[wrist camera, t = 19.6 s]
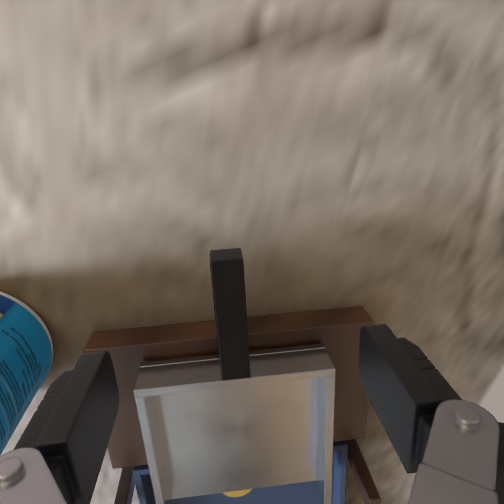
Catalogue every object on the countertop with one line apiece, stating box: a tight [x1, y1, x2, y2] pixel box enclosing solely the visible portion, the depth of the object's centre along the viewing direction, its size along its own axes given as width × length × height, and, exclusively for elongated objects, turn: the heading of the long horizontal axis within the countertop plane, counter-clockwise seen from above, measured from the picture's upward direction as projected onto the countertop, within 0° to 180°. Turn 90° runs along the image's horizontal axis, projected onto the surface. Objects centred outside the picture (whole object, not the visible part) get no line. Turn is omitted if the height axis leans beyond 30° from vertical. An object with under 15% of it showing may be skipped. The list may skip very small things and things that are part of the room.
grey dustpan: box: [134, 248, 335, 504], centre depth 23 cm, size 11×18×2 cm, turn 3°
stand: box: [83, 306, 381, 504], centre depth 26 cm, size 17×13×5 cm
